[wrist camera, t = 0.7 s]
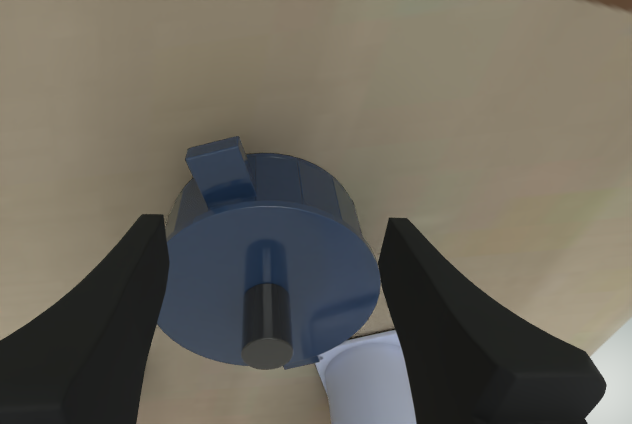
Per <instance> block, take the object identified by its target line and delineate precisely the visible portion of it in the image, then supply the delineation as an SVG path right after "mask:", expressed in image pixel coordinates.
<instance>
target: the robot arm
mask: <svg viewBox="0 0 632 424" xmlns="http://www.w3.org/2000/svg"><path fill="white" fill-rule="evenodd" d="M169 264H170V261H169V254H168V247H167V239H166V232H165V225H164V217H163V215H158V214H142V215H141V216H140V217H139V218H138V219H137V221H136V222H135V223H134V224H133V226H132V227H131V228H130V229H129V231H128V232H127V233H126V234H125V235H124V237H123V238H122V239H121V240H120V241H119V243H118V244H117V245H116V246H115V247H114V248H113V249H112V250H111V251H110V253H109V254H108V255H107V256H106V257H105V258H104V259H103V260H102V261H101V262H100V263H99V264H98V265H97V266H96V267H95V268H94V269H93V270H92V271H91V272H90V273H89V274H88V275H87V276H86V277H85V278H84V279H83V280H82V281H81V282H80V283H79V284H78V285H77V286H75V287H74V288H73V289H72V290H71V291H70V292H69V293H67V294H66V295H65V296H64V297H63V298H61V299H60V300H59V301H58V302H56V303H55V304H54V305H53V306H51V307H50V308H49V309H47V310H46V311H44V312H43V313H42V314H40V315H39V316H37V317H36V318H35V319H33V320H32V321H31V322H29V323H28V324H26V325H25V326H23V327H22V328H20V329H18V330H17V331H15V332H14V333H12V334H11V335H9V336H7V337H6V338H4V339H2V340H1V341H0V424H136V421H137V415H138V408H139V402H140V395H141V389H142V383H143V377H144V371H145V366H146V362H147V357H148V353H149V349H150V346H151V342H152V339H153V335H154V332H155V328H156V325H157V321H158V318H159V314H160V310H161V307H162V303H163V299H164V296H165V292H166V286H167V279H168V272H169ZM378 266H379V272H380V278H381V283H382V288H383V292H384V296H385V299H386V302H387V305H388V308H389V311H390V315H391V318H392V321H393V324H394V327H395V330H391V331H387V332H382V333H378V334H373V335H369V336H364V337H360V338H355V339H350V340H346V341H345V342H343V343H342V344H340V345H338V346H337V347H335V348H333V349H331V350H329V351H327V352H325V353H322V354H320V355H319V358H320V362H317V363H315V365H316V368H317V371H318V373H319V376H320V378H321V381H322V383H323V386H324V388H325V391H326V393H327V396H328V401H329V409H330V417H331V424H587V422H586V420H585V418H586V416H587V415H588V414H589V413H590V412H591V411H592V410H593V408H594V407H595V406H596V405H597V404H598V403H599V401H600V400H601V399H602V397H603V396H604V394H605V390H606V382H605V380H604V378H603V377H602V375H601V374H600V372H599V371H598V369H597V368H596V366H595V365H594V363H593V362H592V360H591V359H590V357H589V356H588V354H587V353H586V352H585V351H583V350H581V349H579V348H577V347H575V346H573V345H571V344H569V343H566V342H564V341H562V340H560V339H558V338H556V337H554V336H552V335H550V334H548V333H547V332H545V331H543V330H541V329H539V328H538V327H536V326H534V325H532V324H530V323H529V322H527V321H525V320H524V319H522V318H520V317H519V316H517V315H516V314H514V313H513V312H511V311H510V310H508V309H507V308H505V307H504V306H502V305H501V304H499V303H498V302H496V301H495V300H494V299H492V298H491V297H490V296H488V295H487V294H486V293H484V292H483V291H482V290H481V289H479V288H478V287H477V286H475V285H474V284H473V283H472V282H471V281H469V280H468V279H467V278H466V277H465V276H464V275H463V274H461V273H460V272H459V271H458V270H457V269H456V268H455V267H454V266H453V265H452V264H451V263H450V262H449V261H447V260H446V259H445V258H444V257H443V256H442V255H441V254H440V253H439V252H438V251H437V249H436V248H435V247H434V246H433V245H432V244H431V243H430V242H429V241H428V240H427V239H426V238H425V237H424V236H423V235H422V234H421V233H420V231H419V230H418V229H417V228H416V227H415V226H414V225H413V224H412V223H411V222H410V221H409V220H408V219H407V218H389V221H388V225H387V229H386V233H385V237H384V241H383V245H382V249H381V253H380V257H379V261H378Z"/></svg>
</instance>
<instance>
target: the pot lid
mask: <svg viewBox="0 0 632 424" xmlns="http://www.w3.org/2000/svg"><path fill="white" fill-rule="evenodd" d="M166 239H167V247H168V254H169V261H170V264H169V272H168V279H167V286H166V292H165V296H164V299H163V303H162V307H161V310H160V314H159V318H158V321H157V324H158V326H159V327H160V328H161V329H162V330H163V332H164V333H165V334H167V335H168V336H169V337H170V338H171V339H172V340H173V341H175V342H176V343H178V344H179V345H181V346H182V347H184V348H186V349H187V350H189V351H191V352H193V353H195V354H198V355H200V356H203V357H205V358H208V359H212V360H215V361H219V362H223V363H228V364H234V365H242V366H250V367H253V368H256V369H262V370H269V369H275V368H279V367H281V366H283V365H285V364H288V363H294V362H298V361H302V360H306V359H309V358H312V357H315V356H318V355H320V354H322V353H325V352H327V351H329V350H331V349H333V348H335V347H337V346H338V345H340V344H342V343H343V342H345V341H346V340H347V339H349V338H350V337H351V336H353V335H354V334H355V333H356V332H357V331H358V330H359V329H360V328H361V327H362V326H363V325H364V324H365V323H366V321H367V320H368V318H369V317H370V315H371V314H372V312H373V310H374V308H375V306H376V304H377V301H378V297H379V294H380V285H381V280H380V272H379V268H378V265H377V261H376V258H375V255H374V253H373V251H372V249H371V247H370V246H369V244H368V243H367V242H366V240H365V239H364V238H363V236H361V235H360V234H359V233H358V232H357V231H356V230H355V229H354V228H353V227H352V226H350V225H349V224H348V223H346V222H345V221H343V220H342V219H340V218H338V217H336V216H334V215H332V214H331V213H329V212H326V211H323V210H321V209H318V208H315V207H312V206H308V205H304V204H300V203H295V202H288V201H279V200H257V201H245V202H240V203H234V204H229V205H225V206H222V207H219V208H215V209H212V210H210V211H207V212H205V213H203V214H200V215H198V216H196V217H194V218H193V219H191V220H189V221H187V222H186V223H184V224H183V225H181V226H180V227H179V228H177V229H176V230H175V231H174V232H172V233H171V234H170V235H169V236H168V237H167V238H166Z"/></svg>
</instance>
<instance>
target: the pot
mask: <svg viewBox="0 0 632 424" xmlns="http://www.w3.org/2000/svg"><path fill="white" fill-rule="evenodd" d="M185 161H186V163H187V165H188V167H189V169H190V171H191V173H192V175H193V177H194V178H193V179H191V180H190V181H189V183H188V184H187V185H186V186H185V187H184V188H183V189H182V191H181V192H180V194H179V195H178V197H177V199H176V201H175V203H174V206H173V208H172V210H171V212H170V214H169V216H168V220H167V224H166V228H165V232H166V238H167V237H168V236H169V235H170V234H171V233H172V232H174V231H175V230H176V229H177V228H179V227H180V226H181V225H183V224H184V223H186V222H187V221H189V220H191V219H193V218H194V217H196V216H198V215H200V214H203V213H205V212H207V211H210V210H212V209H215V208H219V207H222V206H225V205H229V204H234V203H240V202H245V201H257V200H279V201H288V202H295V203H300V204H304V205H308V206H312V207H315V208H318V209H321V210H323V211H326V212H329V213H331V214H332V215H334V216H336V217H338V218H340V219H342V220H343V221H345V222H346V223H348V224H349V225H350V226H352V227H353V228H354V229H355V230H356V231H357V232H358V233H359V234H360V235H361V236H362V232H361V228H360V225H359V221H358V217H357V214H356V210H355V206H354V203H353V201H352V200H351V198H350V197H349V195H348V193H347V192H346V190H345V189H344V188H343V186H342V185H341V184H340V183H339V182H338V181H337V180H336V179H335V178H334V177H333V176H332V175H330V174H329V173H328V172H326V171H325V170H323V169H322V168H320V167H318V166H317V165H315V164H313V163H310V162H308V161H305V160H303V159H300V158H296V157H293V156H288V155H282V154H274V153H255V154H245V151H244V148H243V145H242V143H241V140H240V137H239V136H236V137H232V138H228V139H224V140H220V141H216V142H212V143H208V144H204V145H200V146H196V147H192V148H188V150H187V154H186V158H185ZM317 362H320V358H319V355H318V356H315V357H312V358H309V359H306V360H302V361H298V362H294V363H288V364H285V365H283V367H284V369H290V368H294V367H299V366H304V365H308V364H313V363H317Z"/></svg>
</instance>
